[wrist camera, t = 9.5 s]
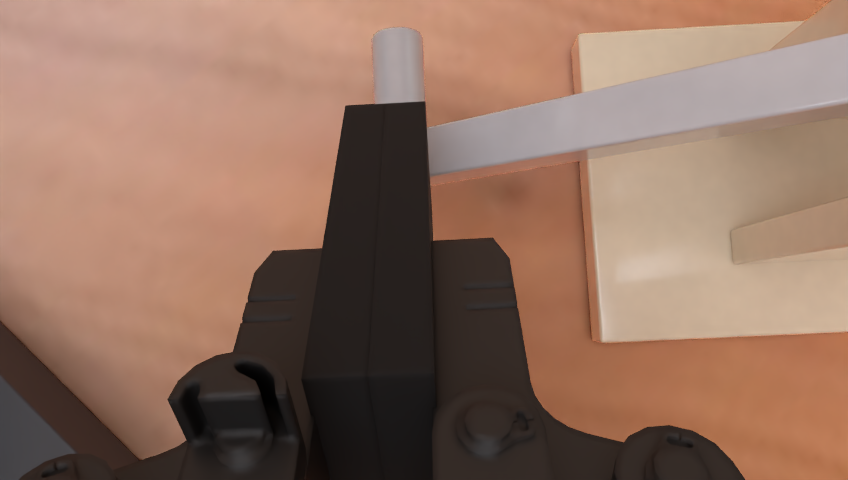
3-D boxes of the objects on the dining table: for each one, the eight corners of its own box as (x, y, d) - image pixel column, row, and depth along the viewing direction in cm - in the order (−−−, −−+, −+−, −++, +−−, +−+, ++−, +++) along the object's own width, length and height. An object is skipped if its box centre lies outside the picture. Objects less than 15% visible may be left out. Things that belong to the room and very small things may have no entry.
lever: (416, 295, 16) (353, 296, 14) (405, 57, 17) (343, 26, 15) (1432, 231, 8) (1612, 211, 6) (1339, -221, 9) (1475, -370, 7)
